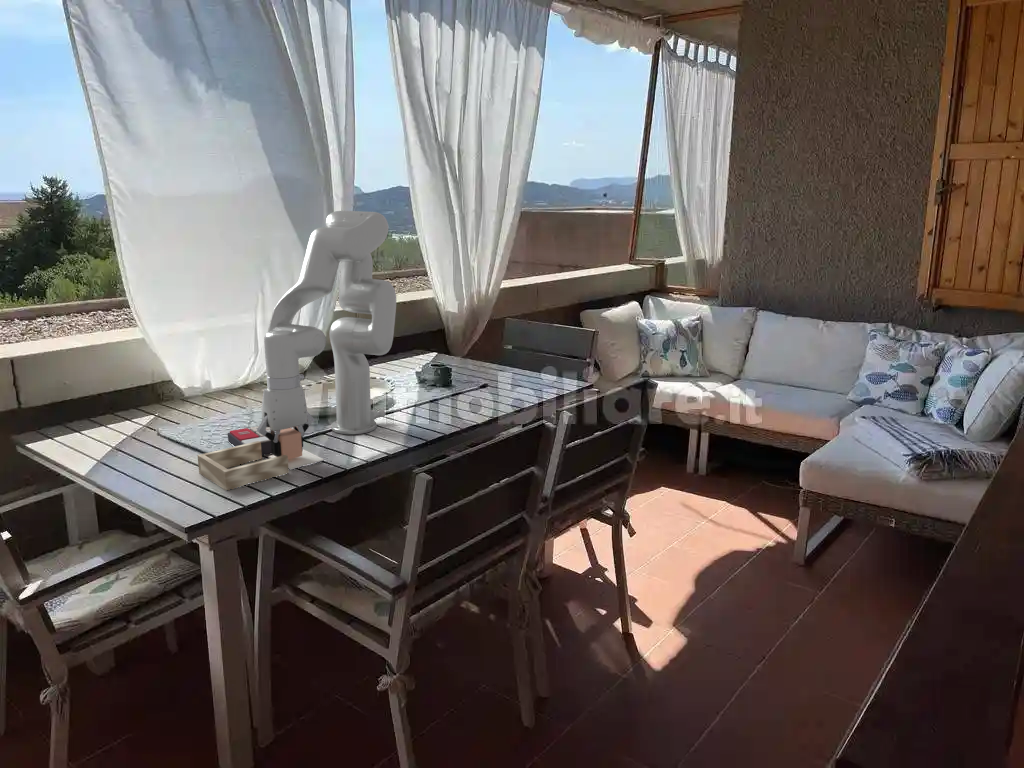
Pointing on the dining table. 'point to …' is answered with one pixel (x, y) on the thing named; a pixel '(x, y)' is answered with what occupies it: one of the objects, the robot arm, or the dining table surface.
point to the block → (290, 443)
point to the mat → (301, 459)
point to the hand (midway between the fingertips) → (287, 452)
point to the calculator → (250, 438)
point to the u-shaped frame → (219, 461)
